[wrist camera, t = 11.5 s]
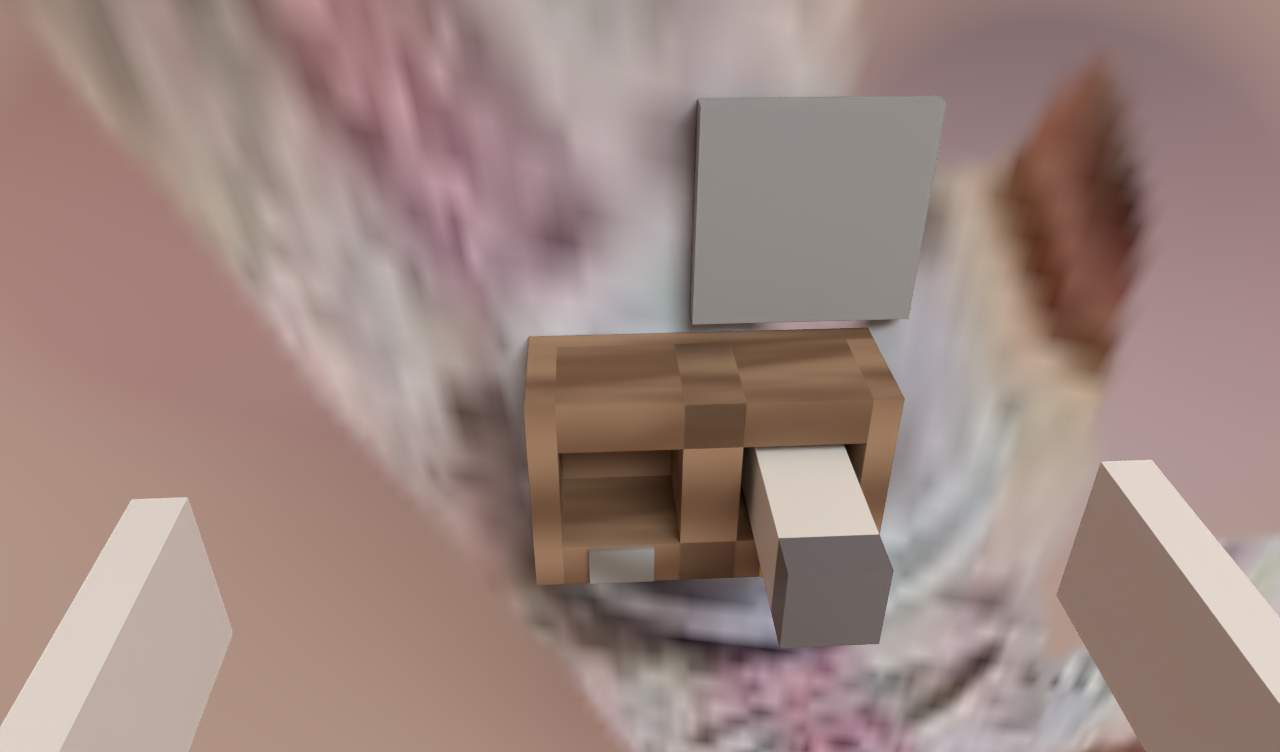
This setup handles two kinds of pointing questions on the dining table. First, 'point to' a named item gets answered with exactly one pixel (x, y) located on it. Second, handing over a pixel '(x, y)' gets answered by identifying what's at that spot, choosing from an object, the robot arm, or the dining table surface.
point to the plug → (816, 545)
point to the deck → (810, 207)
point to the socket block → (687, 442)
